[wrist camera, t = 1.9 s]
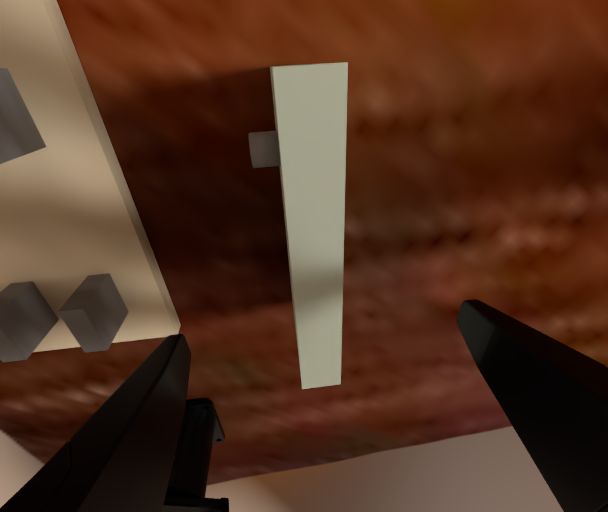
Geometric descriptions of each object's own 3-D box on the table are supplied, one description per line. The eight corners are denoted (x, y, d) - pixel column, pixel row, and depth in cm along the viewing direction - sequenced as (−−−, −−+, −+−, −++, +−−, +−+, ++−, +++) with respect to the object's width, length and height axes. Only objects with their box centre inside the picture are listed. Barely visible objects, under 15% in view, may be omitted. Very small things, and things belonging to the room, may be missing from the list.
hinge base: (180, 324, 21) (164, 373, 18) (32, 341, 21) (-14, 395, 17) (51, -13, 11) (-38, -46, 8) (-239, -1, 11) (-467, -31, 7)
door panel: (320, 296, 21) (340, 384, 15) (278, 301, 21) (282, 391, 15) (313, 63, 14) (347, 62, 8) (247, 68, 14) (233, 69, 8)
